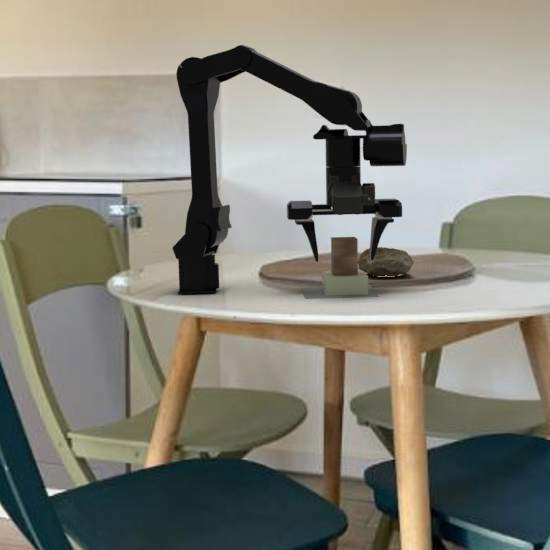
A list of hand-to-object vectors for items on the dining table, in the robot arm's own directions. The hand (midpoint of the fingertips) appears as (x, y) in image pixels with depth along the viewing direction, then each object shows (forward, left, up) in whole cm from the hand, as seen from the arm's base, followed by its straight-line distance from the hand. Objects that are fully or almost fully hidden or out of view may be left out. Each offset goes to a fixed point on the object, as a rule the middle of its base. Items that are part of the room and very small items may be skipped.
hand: (344, 260), depth 156 cm
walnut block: (0, 0, -2) cm, 2 cm away
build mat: (-1, 0, -6) cm, 6 cm away
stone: (+10, +18, -6) cm, 21 cm away
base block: (0, 0, -5) cm, 5 cm away
